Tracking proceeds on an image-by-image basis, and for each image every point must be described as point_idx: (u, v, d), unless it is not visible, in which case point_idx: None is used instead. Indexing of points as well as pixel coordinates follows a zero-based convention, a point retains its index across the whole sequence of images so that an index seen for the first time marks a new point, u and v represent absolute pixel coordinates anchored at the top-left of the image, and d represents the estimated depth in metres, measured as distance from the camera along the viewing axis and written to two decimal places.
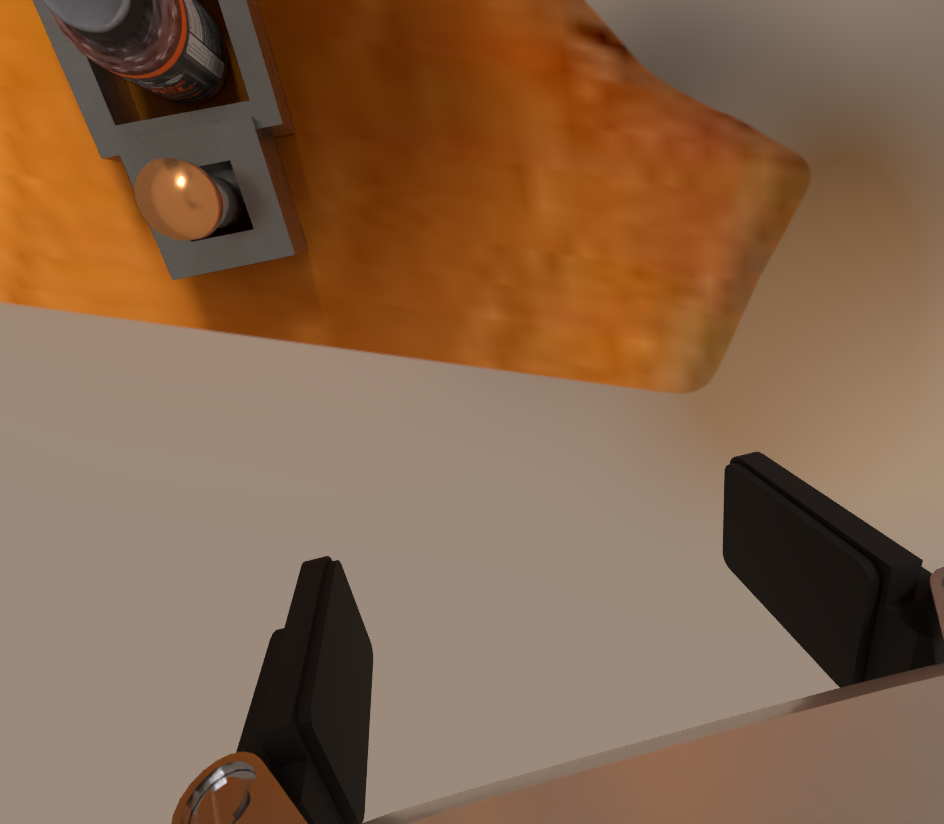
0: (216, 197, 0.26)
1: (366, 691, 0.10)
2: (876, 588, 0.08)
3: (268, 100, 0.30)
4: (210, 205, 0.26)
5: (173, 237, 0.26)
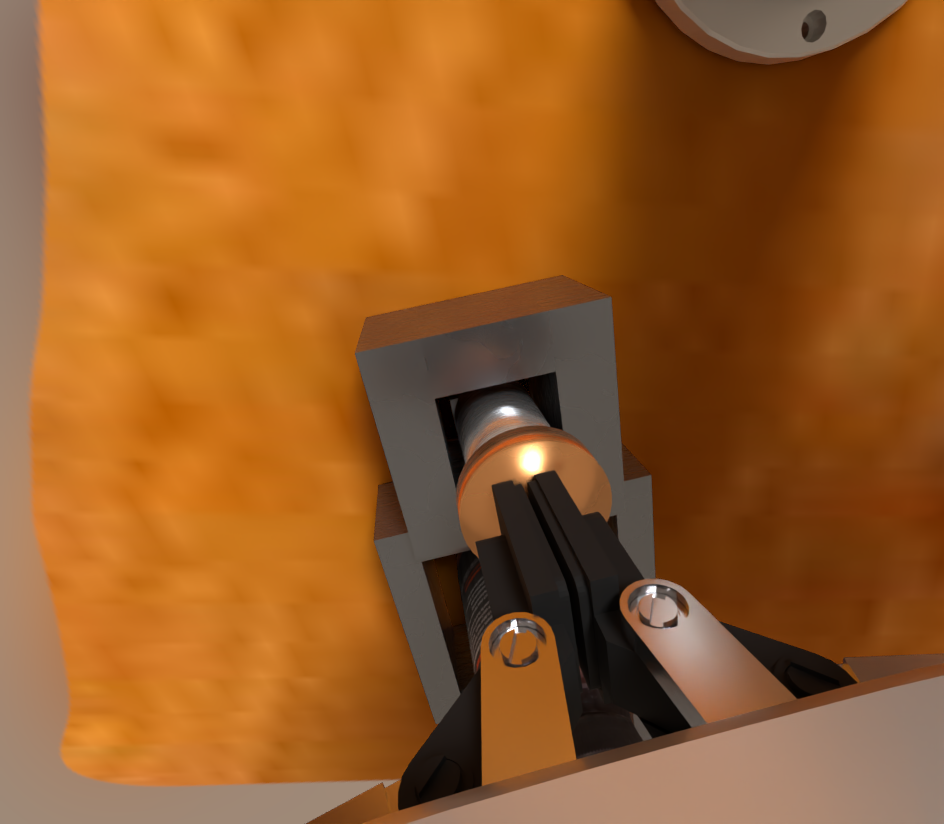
0: None
1: None
2: (586, 599, 0.09)
3: None
4: None
5: None
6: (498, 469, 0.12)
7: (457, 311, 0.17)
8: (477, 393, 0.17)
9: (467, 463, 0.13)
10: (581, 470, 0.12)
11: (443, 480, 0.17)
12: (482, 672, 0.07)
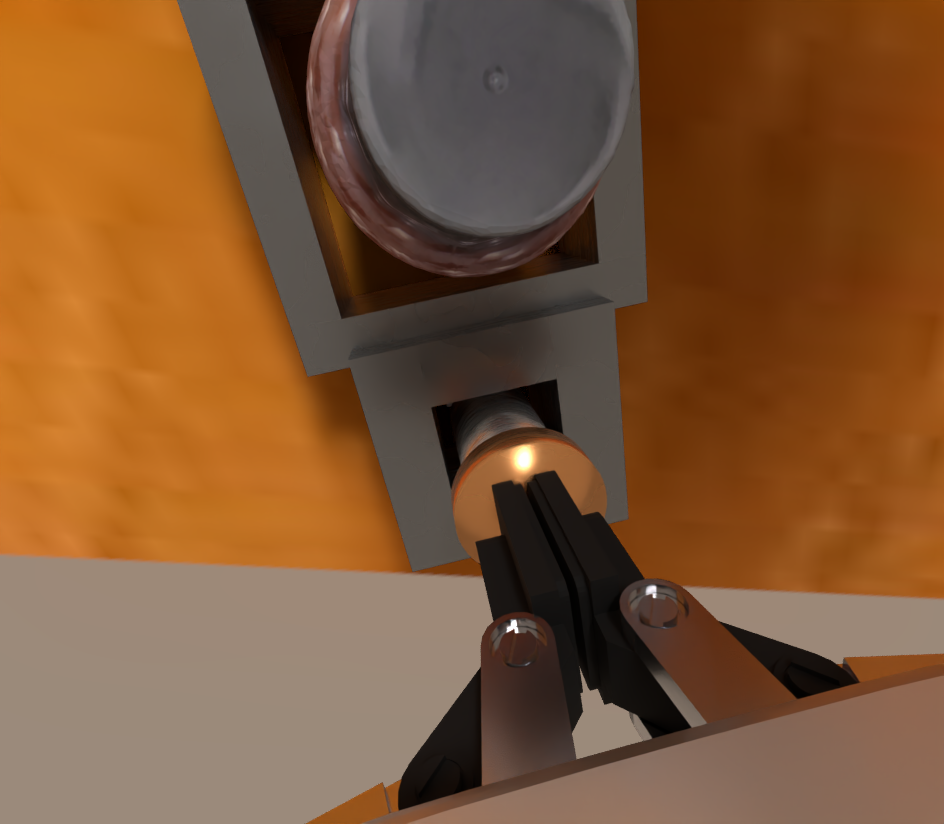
0: (606, 501, 0.13)
1: None
2: (585, 599, 0.09)
3: (632, 262, 0.15)
4: None
5: None
6: None
7: None
8: None
9: None
10: None
11: None
12: (482, 672, 0.07)
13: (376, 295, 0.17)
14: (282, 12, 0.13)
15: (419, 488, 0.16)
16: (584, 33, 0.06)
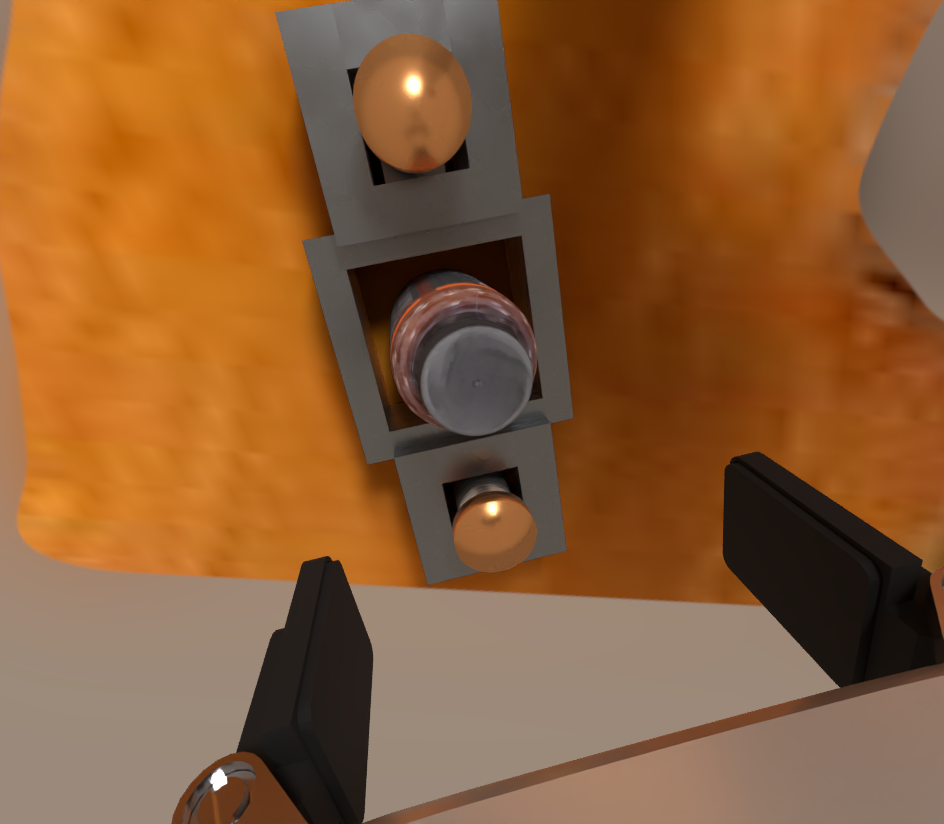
0: (536, 531, 0.23)
1: (366, 691, 0.10)
2: (876, 588, 0.08)
3: (563, 396, 0.25)
4: (529, 539, 0.24)
5: (484, 571, 0.24)
6: (380, 55, 0.16)
7: None
8: None
9: None
10: (445, 67, 0.16)
11: (358, 160, 0.19)
12: None
13: (406, 407, 0.27)
14: None
15: (434, 532, 0.26)
16: (511, 366, 0.17)
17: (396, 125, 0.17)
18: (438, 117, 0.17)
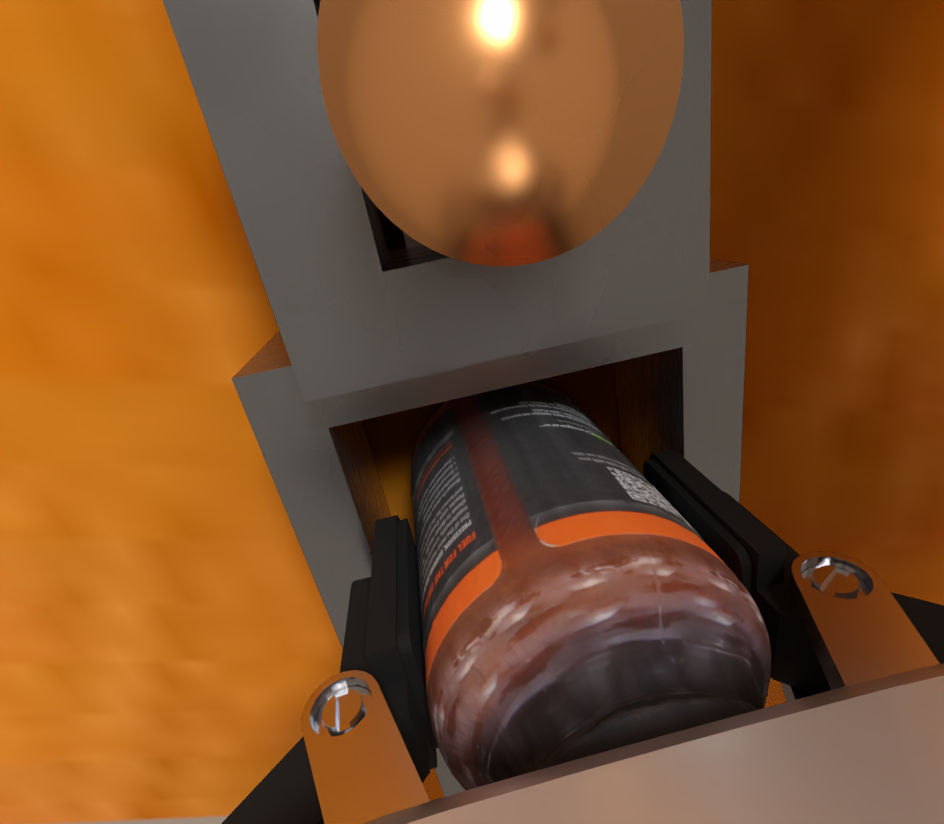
0: None
1: None
2: (748, 572, 0.09)
3: None
4: None
5: None
6: None
7: None
8: None
9: None
10: None
11: (346, 215, 0.08)
12: (310, 755, 0.07)
13: None
14: None
15: None
16: None
17: (454, 139, 0.05)
18: (580, 112, 0.06)
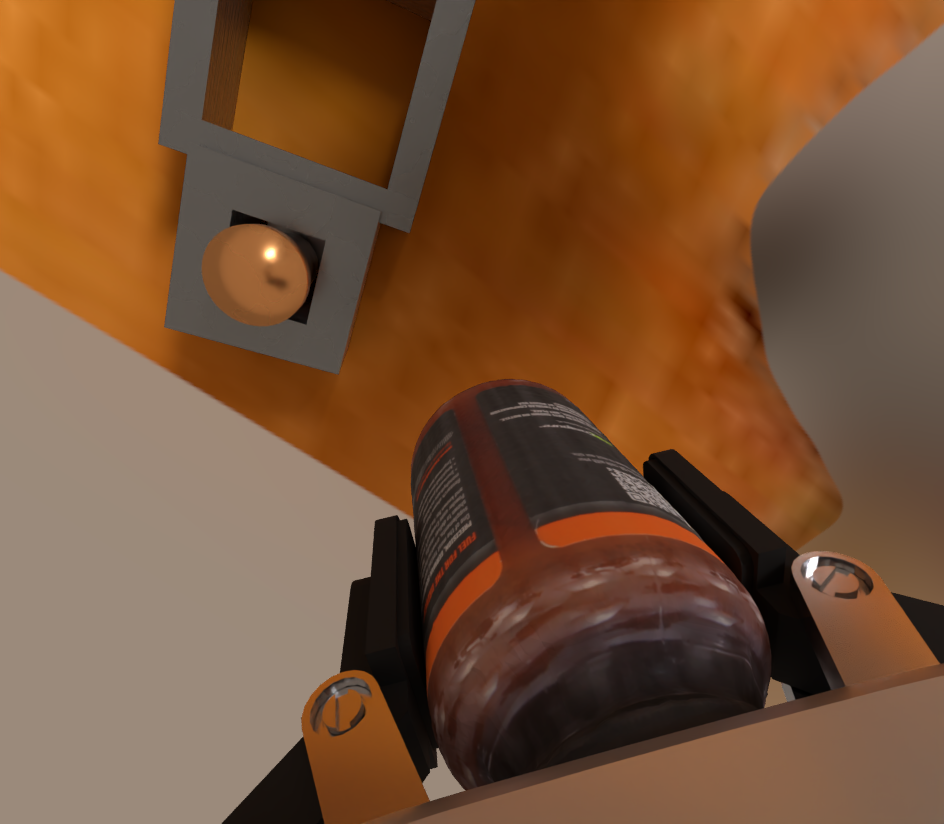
0: (304, 297, 0.20)
1: None
2: (748, 572, 0.09)
3: (408, 201, 0.23)
4: (292, 302, 0.20)
5: (225, 311, 0.20)
6: None
7: None
8: None
9: None
10: None
11: None
12: (310, 756, 0.07)
13: None
14: None
15: (198, 264, 0.22)
16: None
17: None
18: None
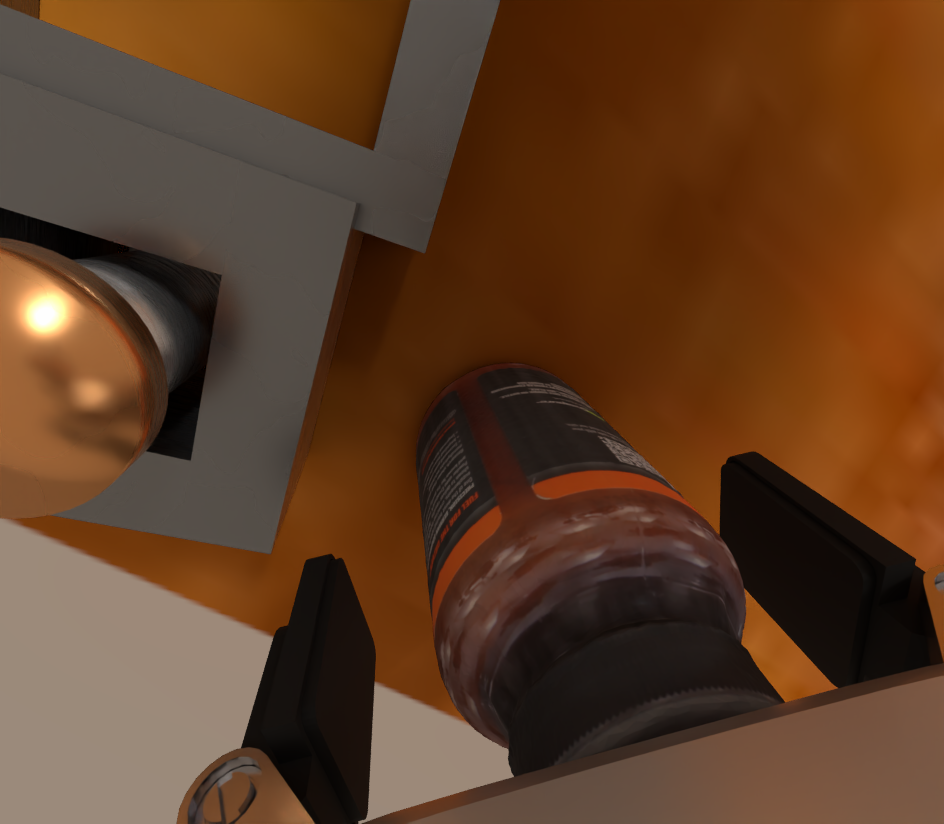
0: (137, 441, 0.07)
1: (369, 688, 0.10)
2: (870, 587, 0.08)
3: (424, 180, 0.10)
4: (101, 455, 0.07)
5: None
6: None
7: None
8: None
9: None
10: None
11: None
12: None
13: None
14: None
15: None
16: None
17: None
18: None
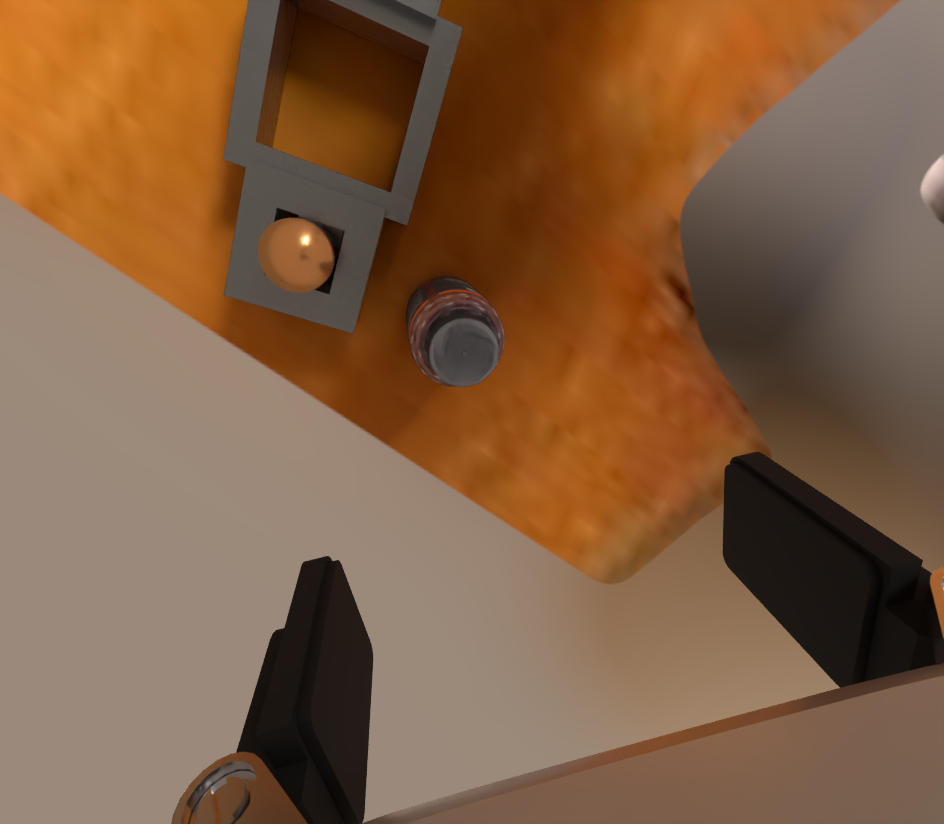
0: (330, 271, 0.28)
1: (366, 691, 0.10)
2: (876, 588, 0.08)
3: (406, 201, 0.30)
4: (321, 274, 0.28)
5: (273, 281, 0.28)
6: None
7: None
8: None
9: None
10: None
11: None
12: None
13: None
14: None
15: (251, 248, 0.29)
16: (484, 342, 0.27)
17: None
18: None
